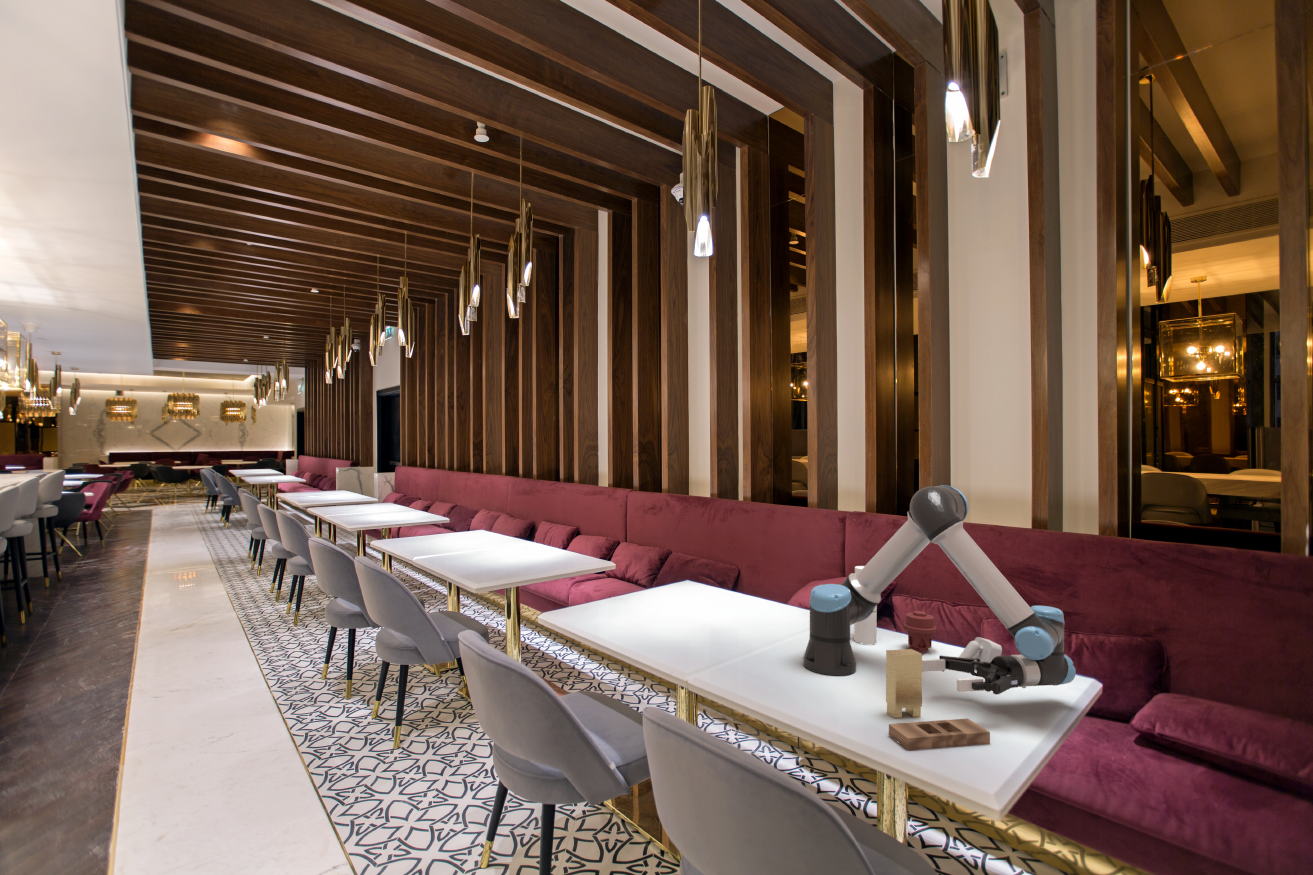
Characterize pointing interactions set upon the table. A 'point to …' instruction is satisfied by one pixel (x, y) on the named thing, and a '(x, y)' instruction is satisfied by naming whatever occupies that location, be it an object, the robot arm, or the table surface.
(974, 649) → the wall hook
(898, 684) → the tall wooden block
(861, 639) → the cylindrical container
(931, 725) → the slotted wooden base
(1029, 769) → the table surface
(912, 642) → the mechanical component
